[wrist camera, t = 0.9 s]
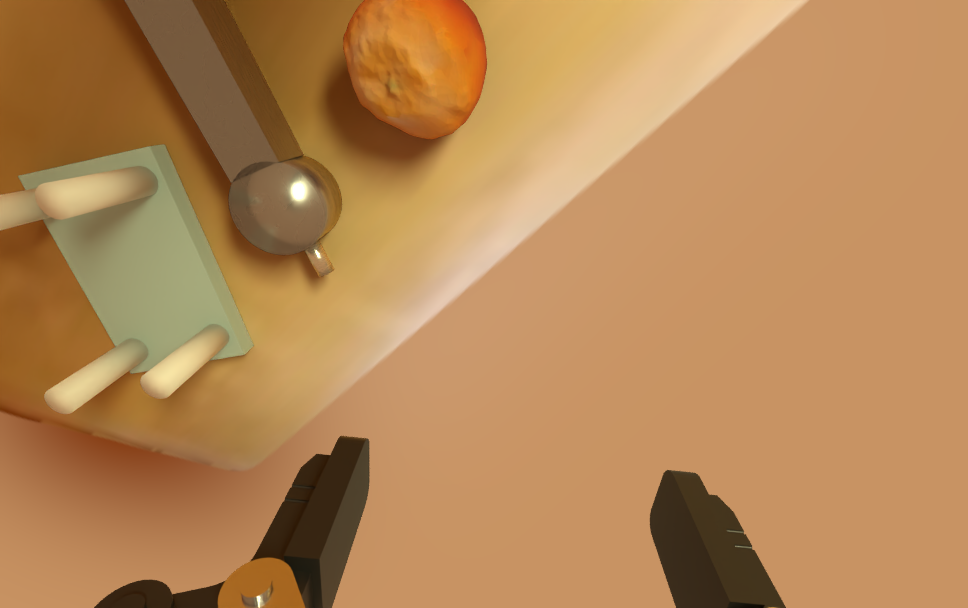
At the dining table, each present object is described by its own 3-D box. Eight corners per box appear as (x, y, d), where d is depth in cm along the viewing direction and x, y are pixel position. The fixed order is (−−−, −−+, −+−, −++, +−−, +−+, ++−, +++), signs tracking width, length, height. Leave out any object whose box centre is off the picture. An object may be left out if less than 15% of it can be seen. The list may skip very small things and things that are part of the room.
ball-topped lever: (97, -81, 28) (35, -108, 24) (181, -130, 27) (129, -166, 23) (301, 277, 36) (278, 297, 33) (370, 250, 35) (355, 268, 31)
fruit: (539, 36, 28) (488, 90, 23) (467, 122, 34) (414, 180, 29) (436, -78, 26) (356, -46, 21) (379, 35, 32) (305, 80, 27)
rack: (37, 172, 34) (-103, 195, 26) (164, 144, 33) (58, 158, 25) (143, 364, 40) (56, 428, 32) (253, 345, 39) (191, 407, 31)
